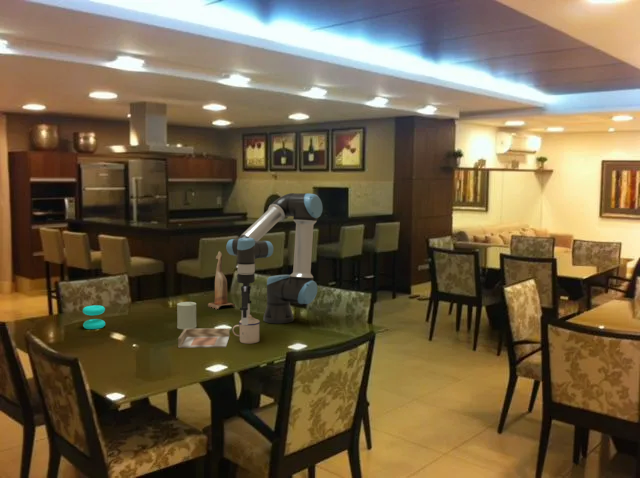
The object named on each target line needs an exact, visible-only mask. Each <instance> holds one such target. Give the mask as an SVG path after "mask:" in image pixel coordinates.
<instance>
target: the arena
mask: <svg viewBox="0 0 640 478" xmlns="http://www.w3.org/2000/svg"><path fill="white" fill-rule="evenodd" d="M229 339H230V328H226V327H225V328H224V327H223V328H221V327H220V328H216V327H215V328H194V329H182V332H181V333H180V335H179V336H178V338H177V340H178V341H177V344H178V345H177V346H178V347H177V348H180V349H181V348H185V349H188V348H189V349H190V348H195V349H196V348H227V345H228V342H229Z"/></svg>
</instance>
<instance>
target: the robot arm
mask: <svg viewBox="0 0 640 478" xmlns="http://www.w3.org/2000/svg"><path fill="white" fill-rule="evenodd" d="M322 213H323V203H322V199H321V198H320V197H319V196H318V195H317V194H315V193H309V192H307V193H299V192H298V193H297V192H296V193H295V192H294V193H292V192H291V193H287V194H286V193H285V194H284V195H282V196H280V197H279V198H277V199H275V200H274V201H273V202H272V203H271V204H269V206H268V209H267V210H266V211H265V212H264V213H263V214H262V215H261V216H260V217H259V218H258V219H257V220H256V221H255V222H254V223H252V224H251V225H250V226H249V227H248V228H247V229H246V230H245V231H244V232H243V233H241V235H240V236H239V237H237V238H232V239H228V241H227V243H226V246H225V247H226V251H227V254H229V255H230V256H235V257H237V265H236V266H235V268H236V269H237V276H236V277H237V278H236V279H237V280H236V281H237V283H238V284H242V285H241V287H240V290H241V295H240V296H241V307H240V308H239V310H240V311H241V320H242V325H248V315H251V314H250V313H251V311H250V310H251V309H250V308H251V305H250V304H252V300H251V298H250V294H251V285H250V284H253V283H255V277H256V276H255V273H256V272H255V270H256V269H255V268H256V262H255V259H266V258H269V257H271V256H272V255H273V254H274V245H273V244H272V242H271V241H269V240H261V239H262V238H263V237H264V236H265V235H266V234H267V233H268V232H269V231H270V230H271V229H273V227H274V226H275V225H276V224H277V223H278V222H280V221H284V219H286V218H290V217H292V218H293V222H294V223H295V236H294V252H293V253H294V255H293V269H292V273H291V274H278V275H271V276H269V277H267V280H266V307H265V311H264V314H263V322H265V323H268V324H288V323H292V322H294V314H293V310H292V308H291V303H294V304H296V303H297V304H300V305H303V304H304V305H308V304H311V303H312V302H313V301H314V300H315V298H316V297H317V294H318V285H317V282H316V281H314V276H313V274H312V272H311V269H312V254H313V253H312V252H313V240H314V225H315V224H316V223H317V220H318V218H319V217H321V216H322Z"/></svg>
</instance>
